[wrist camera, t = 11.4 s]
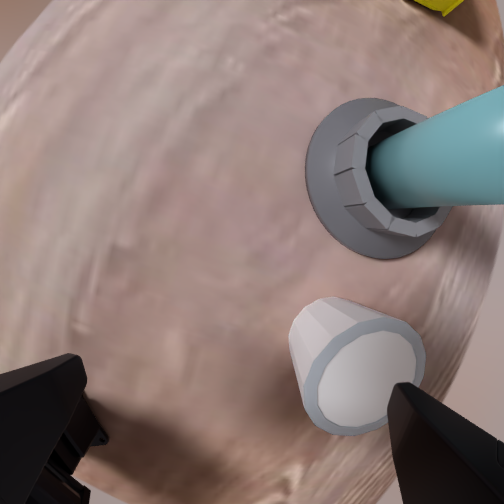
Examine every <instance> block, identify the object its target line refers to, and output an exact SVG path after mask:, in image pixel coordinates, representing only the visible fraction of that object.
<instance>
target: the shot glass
mask: <svg viewBox="0 0 504 504" xmlns="http://www.w3.org/2000/svg"><path fill="white" fill-rule="evenodd" d="M288 336H289V349H290V354H291V358H292V362H293V366H294V369H295V373H296V377H297V381H298V385H299V389H300V393H301V397H302V401H303V405H304V409H305V410H306V412H307V414H308V415H309V417H310V418H311V420H312V421H313V423H314V425H315V426H317V427H319V428H321V429H323V430H324V431H326V432H328V433H330V434H332V435H344V436H356V435H360V434H363V433H367V432H370V431H373V430H376V429H378V428H380V427H381V426H383V425H385V424H386V423H388V417H387V406H388V402H389V399H390V396H391V393H392V390H393V387H394V385H395V384H396V383H399V382H410V383H412V384H414V385H415V386H417V387H418V388H419V386H420V384H421V381H422V379H423V377H424V370H425V362H426V353H425V349H424V346H423V343H422V339H421V336H420V335H419V334H418V333H417V332H416V331H415V330H414V329H413V328H412V327H411V326H410V325H409V324H408V323H407V322H405V321H402V320H400V319H397V318H394V317H392V316H389V315H386V314H384V313H381V312H379V311H376V310H373V309H371V308H368V307H366V306H363V305H360V304H358V303H355V302H353V301H350V300H347V299H343V298H339V297H335V296H334V297H327V298H321V299H318V300H316V301H314V302H313V303H311V304H309V305H307V306H306V307H304V308H303V310H302V311H301V312H300V313H299V314H298V316H297V317H296V318H295V319H294V321H293V324H292V327H291V329H290V332H289V335H288Z"/></svg>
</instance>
